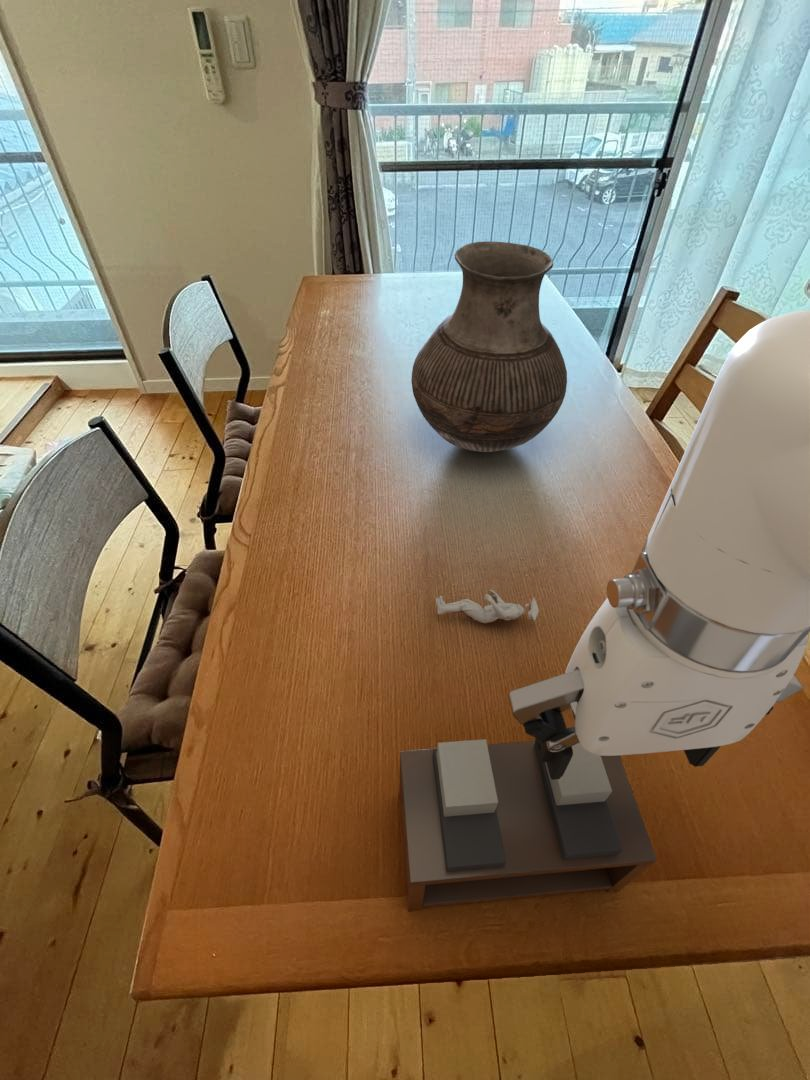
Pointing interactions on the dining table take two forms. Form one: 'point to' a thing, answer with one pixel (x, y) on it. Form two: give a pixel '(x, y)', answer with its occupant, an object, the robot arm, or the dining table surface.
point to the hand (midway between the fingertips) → (618, 751)
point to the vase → (492, 354)
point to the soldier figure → (488, 609)
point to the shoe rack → (513, 835)
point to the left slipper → (468, 806)
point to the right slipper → (582, 807)
